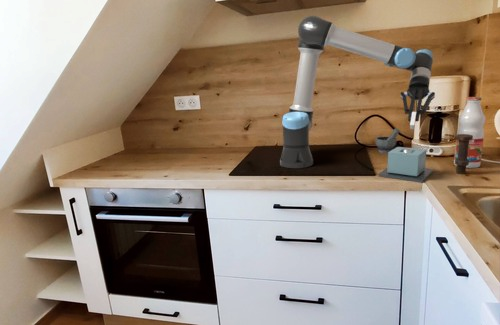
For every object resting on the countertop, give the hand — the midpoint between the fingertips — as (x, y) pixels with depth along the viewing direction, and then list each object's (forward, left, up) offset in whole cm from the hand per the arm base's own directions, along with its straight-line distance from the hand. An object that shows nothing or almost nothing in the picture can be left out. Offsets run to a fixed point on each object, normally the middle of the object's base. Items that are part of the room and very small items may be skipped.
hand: (412, 127), depth 135 cm
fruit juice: (+17, +20, -18) cm, 32 cm away
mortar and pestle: (-19, +29, -18) cm, 40 cm away
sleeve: (0, -4, -17) cm, 17 cm away
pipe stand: (0, -4, -18) cm, 19 cm away
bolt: (+17, +7, -18) cm, 26 cm away
